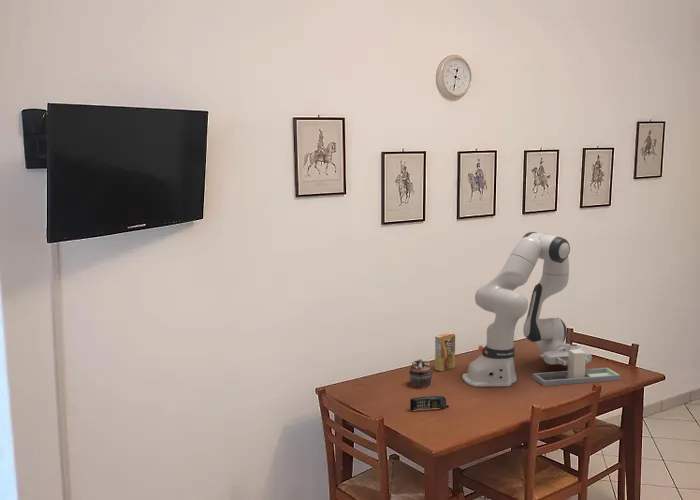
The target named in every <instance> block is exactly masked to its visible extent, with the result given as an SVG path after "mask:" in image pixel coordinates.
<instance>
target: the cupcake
mask: <svg viewBox="0 0 700 500" xmlns="http://www.w3.org/2000/svg"><path fill="white" fill-rule="evenodd" d="M408 373H409V374H408V375H409V379H410V384H412V385H413V386H412V385H411V386H412V387H414V386H416V387H415V388H417V387H425V388H428V387H427V386H429V385H430V386H431V383H432V376H433V372H432V370H431V367H430V363H429V362H428V361H427V360H422V359H418V360H414V361H412V362H411V366H410V368H409V372H408ZM430 386H429V387H430Z"/></svg>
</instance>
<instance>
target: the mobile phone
mask: <svg viewBox="0 0 700 500" xmlns="http://www.w3.org/2000/svg"><path fill="white" fill-rule="evenodd" d="M409 402H410V411H411V410H417V409H429V408H430V409H431V408H443V409H445V408H447V407H446V406H449V407H450V405H448V404H447V399H446V397H445V396H443V395H434V396H432V395H431V396H418V397H413V398H410V400H409ZM444 407H445V408H444Z"/></svg>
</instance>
